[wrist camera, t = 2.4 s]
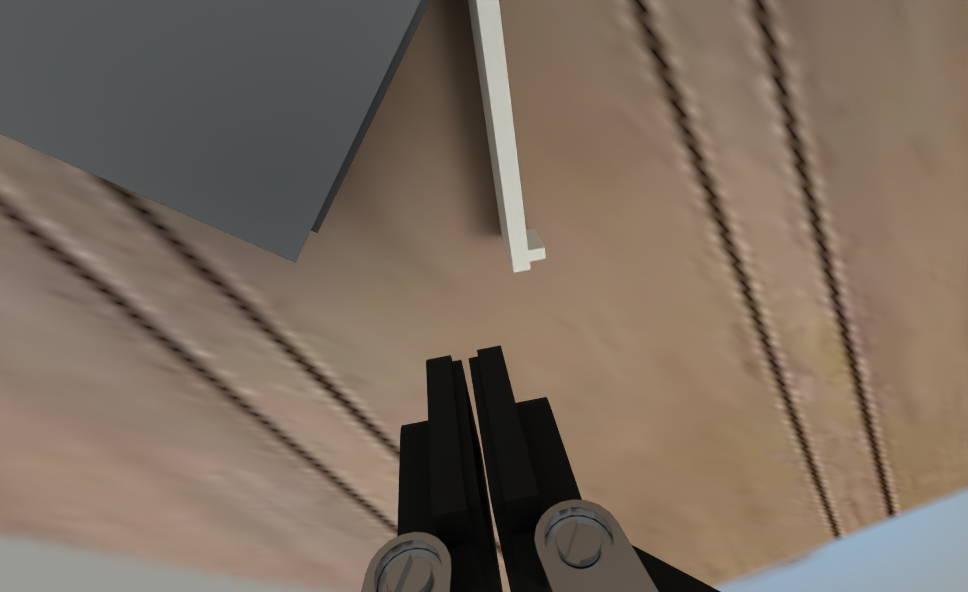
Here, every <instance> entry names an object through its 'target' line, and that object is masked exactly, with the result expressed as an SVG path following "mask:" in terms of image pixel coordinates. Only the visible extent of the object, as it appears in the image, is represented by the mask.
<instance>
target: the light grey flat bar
mask: <svg viewBox="0 0 968 592" xmlns="http://www.w3.org/2000/svg"><path fill="white" fill-rule="evenodd" d="M468 5H469V12H470V19H471V26H472V33H473V40H474V47H475V54H476V60H477V67H478V74H479V81H480V88H481V95H482V102H483V109H484V116H485V123H486V130H487V136H488V143H489V150H490V157H491V164H492V171H493V178H494V185H495V192H496V199H497V206H498V212H499V219H500V226H501V233H502V239H503V242H504V245H505V248H506V251H507V254H508V257H509V260H510V263H511V266H512V269H513V272H520V271H525V270H531V269H530V261H535V260H541V259H546V256H545V247H544V245H543V243H542V241H541V239H540V237H539V235H538V233H537V231H536V229H535V228H532V229H527V230H526V227H525V218H524V210H523V201H522V193H521V184H520V176H519V167H518V159H517V150H516V142H515V133H514V125H513V116H512V108H511V99H510V91H509V82H508V74H507V65H506V57H505V48H504V40H503V31H502V23H501V14H500V6H499V0H468Z"/></svg>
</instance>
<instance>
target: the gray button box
mask: <svg viewBox="0 0 968 592" xmlns="http://www.w3.org/2000/svg"><path fill="white" fill-rule="evenodd" d="M429 2H430V0H0V134H2V135H4V136H7V137H9V138H11V139H14V140H16V141H18V142H20V143H23V144H25V145H27V146H30V147H32V148H34V149H37V150H39V151H41V152H43V153H46V154H48V155H50V156H53V157H55V158H57V159H59V160H62V161H64V162H66V163H69V164H71V165H73V166H75V167H78V168H80V169H82V170H85V171H87V172H89V173H91V174H94V175H96V176H98V177H101V178H103V179H105V180H107V181H110V182H112V183H114V184H117V185H119V186H121V187H123V188H126V189H128V190H130V191H133V192H135V193H137V194H139V195H142V196H144V197H146V198H149V199H151V200H153V201H155V202H158V203H160V204H162V205H165V206H167V207H169V208H172V209H174V210H176V211H178V212H181V213H183V214H185V215H188V216H190V217H192V218H194V219H197V220H199V221H201V222H204V223H206V224H208V225H210V226H213V227H215V228H217V229H220V230H222V231H224V232H226V233H229V234H231V235H233V236H236V237H238V238H240V239H242V240H245V241H247V242H249V243H252V244H254V245H256V246H258V247H261V248H263V249H265V250H268V251H270V252H272V253H274V254H277V255H279V256H281V257H284V258H286V259H288V260H290V261H293V262H296V260H297V258H298V256H299V254H300V252H301V249H302V247H303V245H304V243H305V241H306V239H307V237H308V235H309V233H310V231H313V232H315V233H318V231H319V229H320V227H321V224H322V222H323V220H324V218H325V216H326V214H327V212H328V210H329V208H330V206H331V204H332V202H333V200H334V198H335V196H336V194H337V192H338V189H339V187H340V185H341V183H342V181H343V179H344V177H345V175H346V173H347V171H348V169H349V167H350V165H351V163H352V161H353V159H354V157H355V154H356V152H357V150H358V148H359V146H360V144H361V142H362V140H363V138H364V136H365V134H366V132H367V130H368V128H369V126H370V124H371V122H372V119H373V117H374V115H375V113H376V111H377V109H378V107H379V105H380V103H381V101H382V99H383V97H384V95H385V93H386V91H387V89H388V86H389V84H390V82H391V80H392V78H393V76H394V74H395V72H396V70H397V68H398V66H399V64H400V62H401V60H402V58H403V56H404V54H405V51H406V49H407V47H408V45H409V43H410V41H411V39H412V37H413V35H414V33H415V31H416V29H417V27H418V25H419V23H420V21H421V19H422V16H423V14H424V12H425V10H426V8H427V6H428V4H429Z"/></svg>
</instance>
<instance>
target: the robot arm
mask: <svg viewBox="0 0 968 592" xmlns="http://www.w3.org/2000/svg"><path fill="white" fill-rule="evenodd" d="M477 353H478V357H473V358H469V364H470V370H471V377H472V383H473V389H474V396H475V402H476V409H477V415H478V422H479V428H480V434H481V441H482V447H483V454H484V460H485V467H486V473H487V479H488V486H489V492H490V498H491V503H492V508H493V513H494V518H495V522H496V527H497V531H498V536H499V541H500V545H501V550H502V554H503V559H504V563H505V568H506V572H507V577H508V581H509V586H510V590H511V592H720V591H718V590H716V589H714V588H712V587H711V586H709V585H707V584H705V583H703V582H701V581H699V580H697V579H695V578H694V577H692V576H690V575H688V574H686V573H684V572H682V571H680V570H678V569H676V568H675V567H673V566H671V565H669V564H667V563H665V562H663V561H661V560H659V559H658V558H656V557H654V556H652V555H650V554H648V553H646V552H644V551H642V550H640V549H639V548H637V547H635V546H633V545H631V543H630V542H629V540H628V538H627V537H626V535H625V533H624V531H623V530H622V528H621V526H620V525H619V523H618V522H617V520H616V519H615V518H614V517H613V515H612V514H611V513H610V512H609V511H608V510H606V509H605V508H603V507H602V506H600V505H599V504H596V503H593V502H590V501H587V500H582V499H581V496H580V493H579V490H578V487H577V484H576V481H575V478H574V475H573V472H572V469H571V466H570V463H569V460H568V457H567V454H566V451H565V448H564V445H563V442H562V439H561V437H560V434H559V431H558V428H557V425H556V422H555V419H554V416H553V413H552V410H551V407H550V404H549V401H548V399H547V397H544V398H539V399H534V400H529V401H523V402H518V403H515V400H514V396H513V392H512V388H511V384H510V380H509V376H508V372H507V368H506V364H505V360H504V356H503V352H502V349H501V346H495V347H490V348H485V349H480V350H477ZM426 370H427V398H428V421H423V422H418V423H413V424H408V425H403V426H402V427H401V434H400V467H399V502H398V537H396V538H394V539H392V540H390V541H388V542H387V543H386V544H385V545H384V546H383V547H381V548H380V549H379V550H378V551H377V553H376V554H375V556H374V557H373V558H372V560H371V561H370V563H369V566H368V569H367V571H366V574H365V578H364V582H363V586H362V591H361V592H503V590H502V584H501V577H500V571H499V564H498V557H497V551H496V544H495V538H494V531H493V525H492V518H491V511H490V505H489V498H488V492H487V485H486V478H485V472H484V465H483V459H482V453H481V448H480V443H479V438H478V434H477V429H476V425H475V420H474V416H473V411H472V406H471V402H470V397H469V393H468V388H467V384H466V379H465V374H464V370H463V365H462V361H461V360H458V361H452V358H451V355H449V356H444V357H439V358H434V359H429V360H427V361H426Z"/></svg>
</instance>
